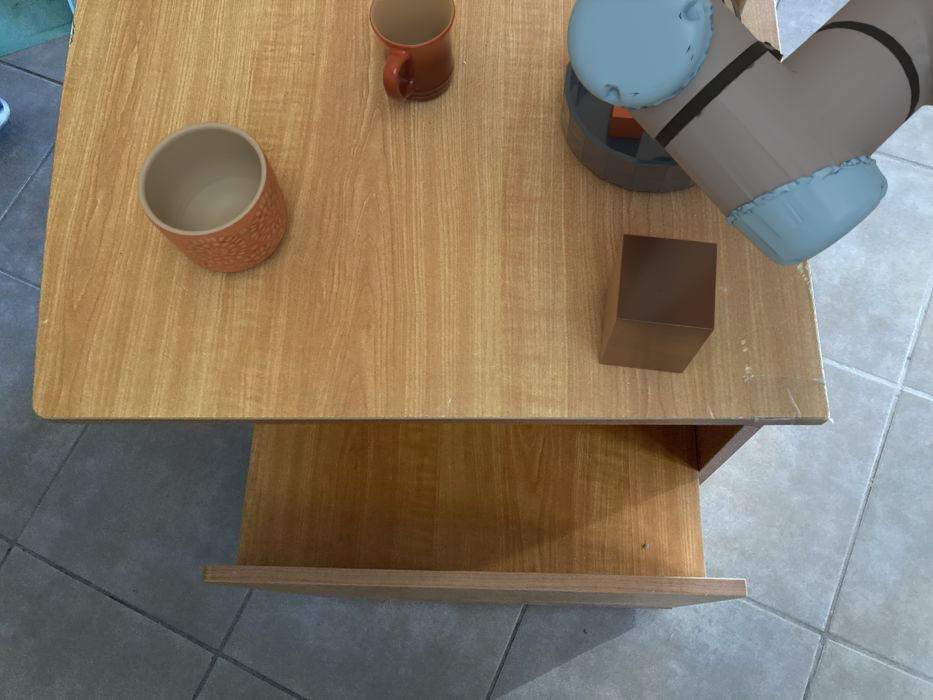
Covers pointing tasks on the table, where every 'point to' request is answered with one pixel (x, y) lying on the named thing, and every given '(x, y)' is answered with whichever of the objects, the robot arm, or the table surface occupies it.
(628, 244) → the stand
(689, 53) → the robot arm
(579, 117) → the bowl
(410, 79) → the mug
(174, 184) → the planter
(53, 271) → the table surface
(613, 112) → the terracotta block
